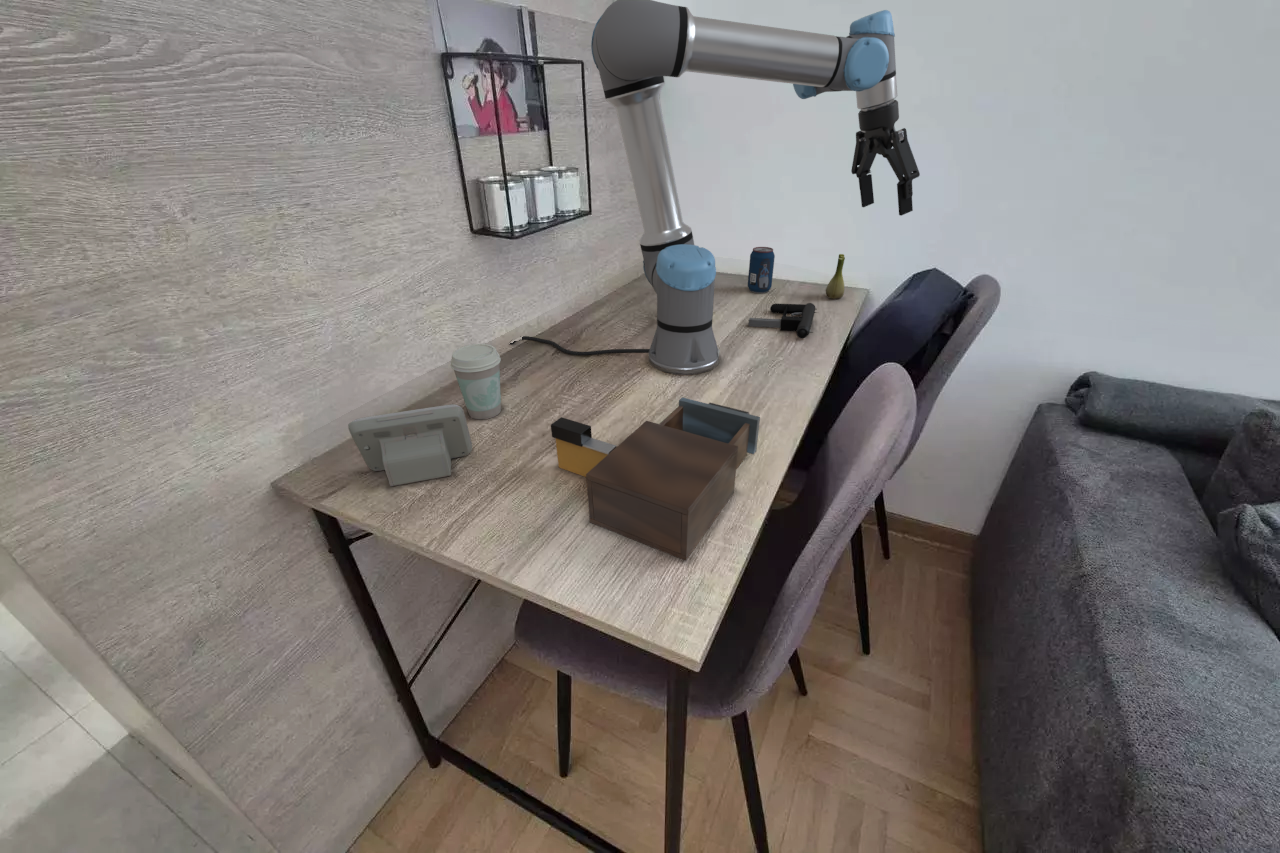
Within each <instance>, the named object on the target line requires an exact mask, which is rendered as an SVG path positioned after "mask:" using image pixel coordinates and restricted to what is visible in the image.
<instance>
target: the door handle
mask: <svg viewBox="0 0 1280 853" xmlns="http://www.w3.org/2000/svg"><path fill="white" fill-rule="evenodd" d="M769 310H770V312H771V313H772V314H782V316H781V318H764V317H761V318H760V317H749V319H748V327H753V328H754V327H755V328H777V329H779V331H780V332H796V336H797V337H798V338H799V339H801V340H802V339H806V338H807V337H808V336H809V335H810V333H814V331H811V328H812V324H813V320H814V316H815V314H818V312H816V305H815V304H814V303H812V302H808V303H805V304H801V303H800V304H799V303H775V302H774V303H773V304H771V305H770V307H769Z"/></svg>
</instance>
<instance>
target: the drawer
mask: <svg viewBox="0 0 1280 853" xmlns="http://www.w3.org/2000/svg"><path fill="white" fill-rule="evenodd" d="M760 422H761V416H758V415H754V414H750V412H749V411H746V410H743V409H737V408H734V407H729V406H726V405H721V404H717V403H714V402H708V403H706V402H703V401H699V400H694V399H691V398H688V397H683V396H682V397H680V398H679V400H678V406H677V407H676V408H675V409H674V410H673V411H672V412H671V413H670V414H668V415H667V416H666V417H665V418H663V420H662V421H661V422H660V423H659V424H660V425H664V426H667V427H671V428H674V429H678V430H682V431H685V432H689V433H692V434H696V435H699V436H703V437H706V438H710V439H713V440H717V441H720V442H724V443H728V444H731V445H735V446H738V454H737V465H736V470H738V468H739V467H740V465H741V464H742V463H743V461H744V460H745V459H746V458H747V455H748V454H751V455H755V453H756V452H757V451H758V450H757V449H758V439H759V430H760Z"/></svg>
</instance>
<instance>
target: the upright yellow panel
mask: <svg viewBox="0 0 1280 853" xmlns="http://www.w3.org/2000/svg"><path fill="white" fill-rule="evenodd" d="M554 439H555V448H556V456H557V465H558V468H560V469H562V470H565V471H568V472H570V473H573V474H576V475H579V476H582V477H584V478H586V474H587V473H588V472H589V471H590V470H591V469H592V468H594V467H595V466H596V465H597V464H598V463H599V462H600V461H601V460H603V459H604V458H605V457H606V456H607V455H608V454H605V453H602V452H599V451H596V450H593V449H589V448H586V447H583V446H582V447H581V446H578V445H575V444H572V443H568V442H565V441H562V440H559V439H556V438H554Z"/></svg>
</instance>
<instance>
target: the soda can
mask: <svg viewBox="0 0 1280 853" xmlns="http://www.w3.org/2000/svg"><path fill="white" fill-rule="evenodd" d="M749 254H750V255H749V265H748V277H747V288H748V290H749V292H750V293H754V294H766V293H768V292H769V291H770V290H771V289H772V287H773V275H774V266H775V258H776V255H775V252H774V248H772V247H770V246H755V247H753V248H752V251H751V253H749Z"/></svg>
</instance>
